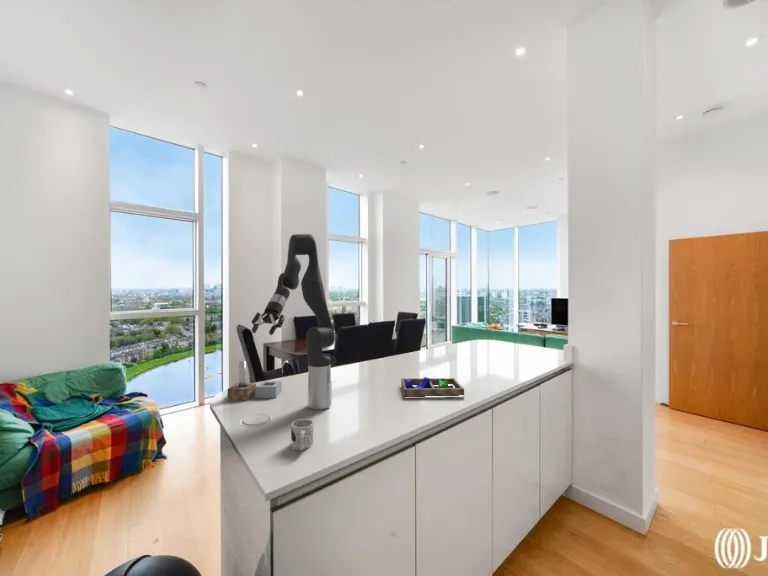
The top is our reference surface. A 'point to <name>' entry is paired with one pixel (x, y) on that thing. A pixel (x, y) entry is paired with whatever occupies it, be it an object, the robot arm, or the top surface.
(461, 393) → the organiser frame
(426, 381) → the cable clip
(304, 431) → the mug
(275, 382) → the socket block
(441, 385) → the pipe clamp
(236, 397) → the wooden square frame
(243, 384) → the steel axle
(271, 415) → the top surface
